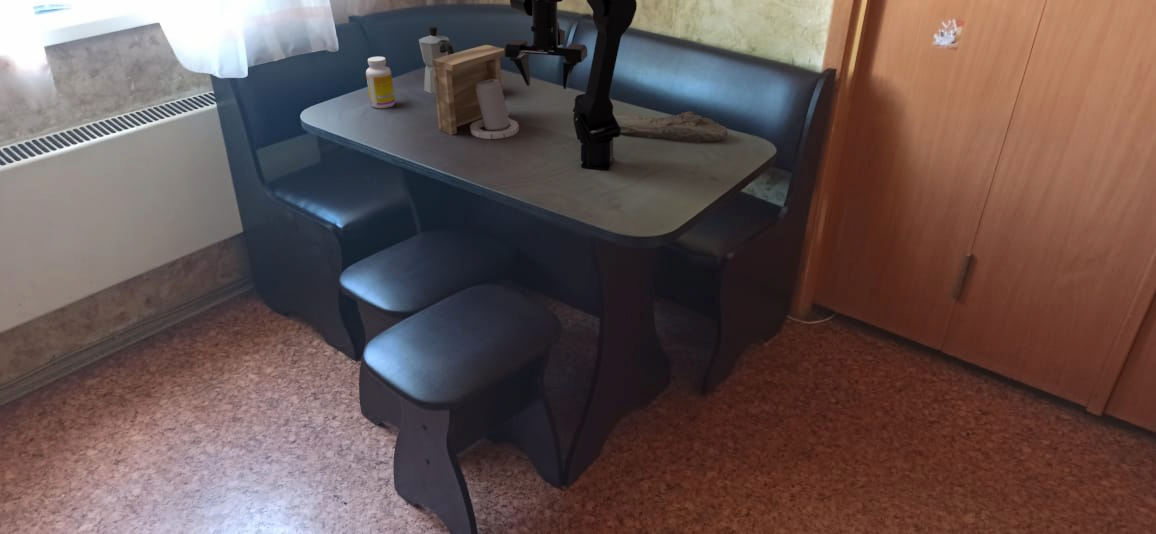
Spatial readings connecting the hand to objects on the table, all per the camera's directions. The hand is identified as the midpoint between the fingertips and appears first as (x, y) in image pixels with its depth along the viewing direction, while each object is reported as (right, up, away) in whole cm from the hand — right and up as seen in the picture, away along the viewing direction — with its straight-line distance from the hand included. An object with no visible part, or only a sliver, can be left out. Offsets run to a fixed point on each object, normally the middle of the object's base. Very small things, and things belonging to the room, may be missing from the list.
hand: (546, 87), depth 186 cm
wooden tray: (-19, -6, +16) cm, 26 cm away
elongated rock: (+27, -10, +10) cm, 31 cm away
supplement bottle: (-46, +2, +30) cm, 55 cm away
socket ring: (-14, -8, +12) cm, 20 cm away
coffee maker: (-32, +8, +40) cm, 52 cm away
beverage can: (-13, -8, +11) cm, 19 cm away
